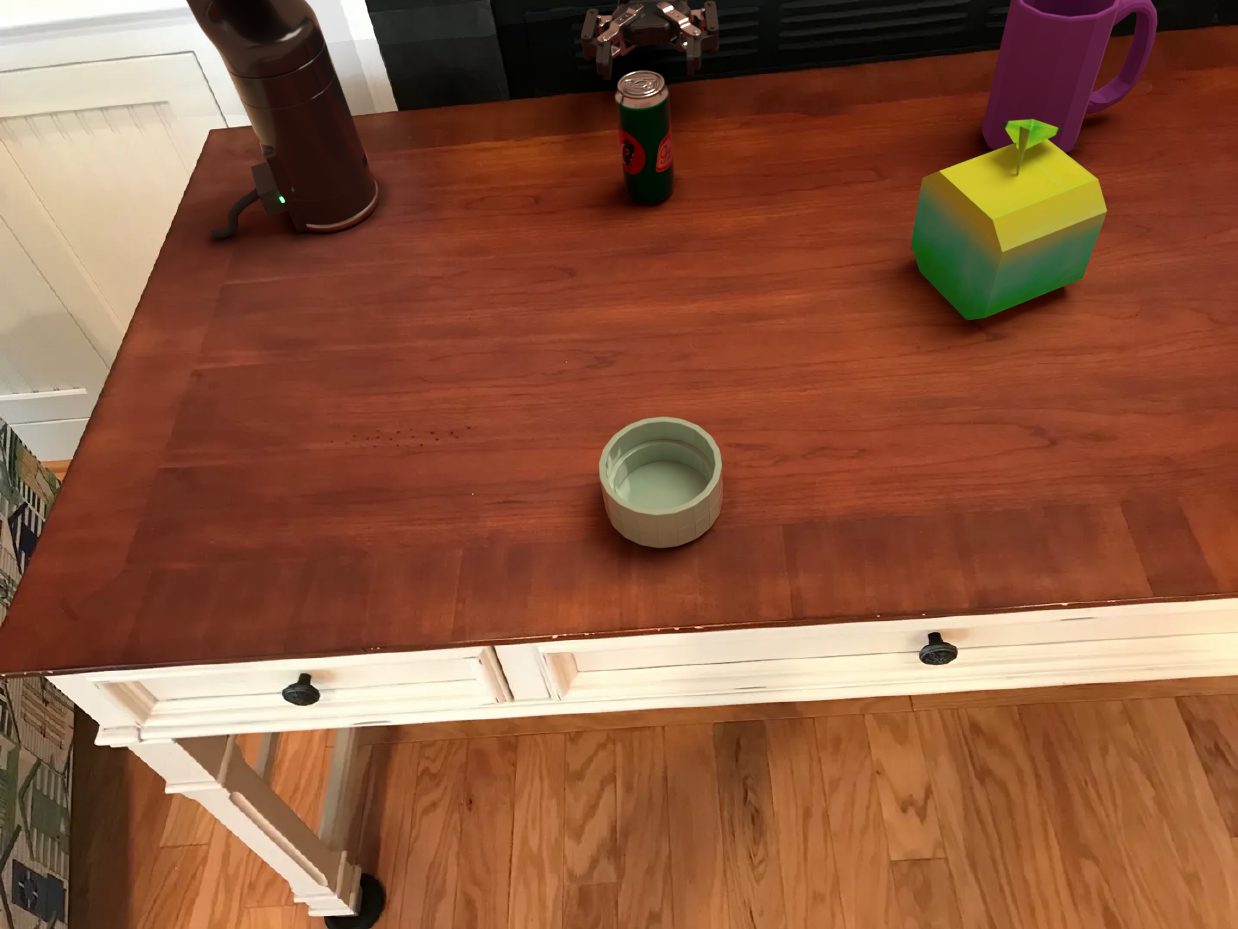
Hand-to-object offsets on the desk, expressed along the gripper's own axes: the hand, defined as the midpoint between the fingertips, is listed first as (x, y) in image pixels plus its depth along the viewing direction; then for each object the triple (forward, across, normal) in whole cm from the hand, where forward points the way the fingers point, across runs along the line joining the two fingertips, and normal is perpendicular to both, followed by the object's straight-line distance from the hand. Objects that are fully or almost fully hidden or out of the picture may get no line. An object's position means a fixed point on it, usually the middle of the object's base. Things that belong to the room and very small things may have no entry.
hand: (648, 69), depth 99 cm
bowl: (+48, +2, +8) cm, 48 cm away
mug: (+2, +41, +8) cm, 42 cm away
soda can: (+9, 0, +8) cm, 12 cm away
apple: (+24, +31, +8) cm, 40 cm away
